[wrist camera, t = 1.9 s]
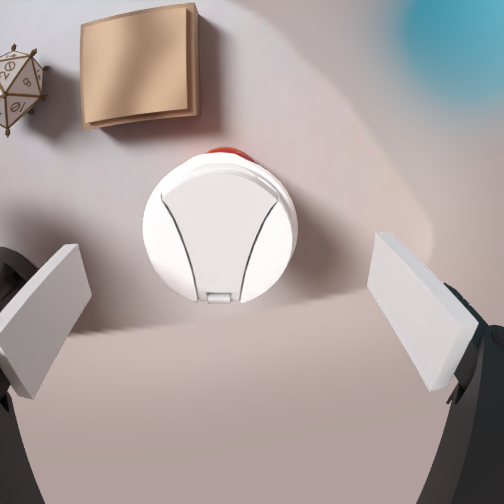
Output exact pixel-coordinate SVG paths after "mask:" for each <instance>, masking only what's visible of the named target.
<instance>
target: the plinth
mask: <svg viewBox="0 0 504 504" xmlns="http://www.w3.org/2000/svg"><path fill="white" fill-rule="evenodd" d="M80 92H81V112H82V126H83V130H89V129H94V128H99V127H105V126H111V125H117V124H124V123H130V122H138V121H145V120H153V119H162V118H172V117H183V116H195V115H200V86H199V14H198V11H197V8H196V5H195V3H186V4H177V5H169V6H162V7H156V8H150V9H144V10H139V11H134V12H129V13H124V14H120V15H115V16H111V17H107V18H103V19H99V20H96V21H92V22H89V23H85V24H82V25H81V35H80Z"/></svg>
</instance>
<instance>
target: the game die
mask: <svg viewBox="0 0 504 504" xmlns="http://www.w3.org/2000/svg"><path fill="white" fill-rule="evenodd" d="M11 49H12V51H11V52H9V53H7V54H5V55H3V56H1V57H0V126H2V127H4V128H6V131H5V132H6V134H5V135H6V136H7V138H8V136H9V135H10V130H9V128H10V127H11V126H12V125H13V124H14V123H16V122H17V121H18V120H19V119H20V118H21V117H22V116H24V115H25V114H26V113H27V112H28V113H29V115H30V114H33V110H32V109H31V108H32V107H33V106H34V105H35V104H36V103H37V102H38V101H39V100H40V99H41V98H42V100H45V101H46V100H48V99H49V98H48V96H47V95H42V85H43V71H48V69H49V66H46V67H44V68H43V69H42V68H41V66H40V65H39V64H38V63H37V61H36V60H35V59H34V58H33V56H34V55H35V54H36V53H37V48H36V49H34V50H32V52H31V54H30V55H29V54H25V53H21V52H18V51H15V49H16V45H15V43H14V45H13V46H12V48H11Z"/></svg>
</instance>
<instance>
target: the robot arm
mask: <svg viewBox="0 0 504 504" xmlns="http://www.w3.org/2000/svg"><path fill="white" fill-rule="evenodd" d="M367 288H368V290H369V291H370V293H371V294H372V296H373V297H374V299H375V300H376V302H377V304H378V305H379V307H380V308H381V310H382V312H383V313H384V315H385V316H386V318H387V320H388V321H389V323H390V324H391V326H392V328H393V329H394V331H395V333H396V334H397V336H398V338H399V339H400V341H401V342H402V344H403V346H404V348H405V349H406V351H407V353H408V355H409V356H410V358H411V360H412V362H413V363H414V365H415V367H416V369H417V370H418V372H419V374H420V376H421V378H422V379H423V381H424V383H425V385H426V387H427V388H428V390H429V392H432V391H435V390H438V389H442V388H445V387H447V386H448V384H449V382H450V381H451V379H452V377H453V375H455V376H456V378H457V380H458V381H459V382H458V384H457V386H456V387H455V389H454V390H453V392H452V394H451V396H450V397H449V399H448V401H447V402H446V404H449V403H450V401H451V400H452V402H451V406H450V410H449V414H448V418H447V421H446V425H445V428H444V431H443V435H442V438H441V441H440V444H439V447H438V450H437V453H436V456H435V459H434V461H433V464H432V467H431V470H430V472H429V475H428V477H427V480H426V482H425V485H424V487H423V489H422V492H421V494H420V497H419V499H418V501H417V503H416V504H504V327H502V326H498V325H490V326H489V325H488V324H487V323H486V322H485V321H484V320H483V318H482V317H481V316H480V315H479V314H478V313H477V312H476V311H475V310H474V308H472V306H469V303H468V302H467V301H466V300H465V299H463V297H462V296H461V295H460V294H459V293H458V291H457V290H456V289H454V288H452V287H451V286H449V285H447V284H446V283H442V282H441V281H440V280H439V279H438V278H437V277H436V276H435V275H434V274H433V273H432V272H431V271H430V270H429V269H428V268H427V267H426V266H425V265H424V264H423V263H422V262H421V261H420V260H419V259H418V258H417V257H416V256H415V255H414V254H413V253H412V252H411V251H410V250H409V249H408V248H407V247H406V246H405V245H404V244H403V243H402V242H401V241H400V240H398V239H397V238H396V237H395V236H394V235H393V234H392V233H391V232H377V233H375V240H374V247H373V253H372V259H371V265H370V271H369V277H368V282H367ZM91 297H92V293H91V290H90V287H89V283H88V280H87V276H86V273H85V269H84V265H83V261H82V258H81V254H80V250H79V245H78V244H65V245H64V246H62V247H61V248H60V249H59V250H58V251H57V252H56V253H55V254H54V255H53V256H52V257H51V258H50V259H49V260H48V261H47V262H46V263H45V264H44V265H43V266H42V267H41V268H40V269H39V271H37V270H36V269H35V268H34V267H33V265H32V264H31V263H30V262H28V261H27V260H26V259H25V258H24V257H22V256H21V255H19V254H18V253H16V252H14V251H12V250H10V249H8V248H4V247H0V504H45V502H44V500H43V498H42V495H41V493H40V490H39V488H38V485H37V483H36V481H35V478H34V475H33V472H32V469H31V467H30V464H29V461H28V458H27V455H26V452H25V448H24V445H23V442H22V439H21V435H20V431H19V428H18V424H17V420H16V416H15V412H14V407H13V403H12V398H11V396H10V394H9V393H8V391H7V390H8V388H9V386H10V385H11V386H12V387H13V389H14V390H15V392H16V393H17V395H18V396H21V397H24V398H28V399H32V400H33V399H34V397H35V395H36V394H37V392H38V390H39V388H40V385H41V384H42V382H43V380H44V378H45V376H46V374H47V372H48V370H49V368H50V367H51V364H52V363H53V361H54V359H55V357H56V356H57V354H58V352H59V350H60V348H61V347H62V345H63V343H64V341H65V340H66V338H67V336H68V335H69V333H70V331H71V329H72V328H73V326H74V324H75V323H76V321H77V319H78V318H79V316H80V315H81V313H82V311H83V310H84V308H85V306H86V305H87V303H88V302H89V300H90V299H91Z"/></svg>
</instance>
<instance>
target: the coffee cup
mask: <svg viewBox="0 0 504 504" xmlns="http://www.w3.org/2000/svg"><path fill="white" fill-rule="evenodd" d="M143 236H144V242H145V246H146V249H147V252H148V255H149V258H150V260H151V263H152V265H153V267H154V269H155V270H156V272H157V274H158V275H159V276H160V278H161V279H162V280H163V281H164V282H165V283H166V284H167V285H168V286H169V287H170V288H171V289H172V290H174V291H175V292H177V293H178V294H179V295H181V296H183V297H185V298H187V299H189V300H192V301H194V302H198V299H199V300H200V301H208V303H225V304H230V302H231V301H239V300H240V301H241V303H243V302H246V301H249V300H251V299H253V298H255V297H257V296H259V295H261V294H262V293H264V292H265V291H267V290H268V289H269V288H270V287H271V286H272V285H274V284H275V283H276V282H277V280H278V279H279V278H280V277H281V275H282V274H283V272H284V270H285V269H286V267H287V265H288V263H289V261H290V260H291V258H292V255H293V253H294V250H295V247H296V243H297V238H298V221H297V214H296V210H295V207H294V204H293V202H292V200H291V198H290V196H289V194H288V192H287V191H286V189H285V188H284V187H283V185H282V184H281V183H280V181H279V180H278V179H276V178H275V177H274V176H273V175H272V174H271V173H270V172H268V171H267V170H265V169H264V168H262V167H261V166H259V165H257V164H256V163H255V162H254V161H253V160H252V159H251V158H250V157H249V156H248V155H246V154H245V153H244V152H242V151H240V150H238V149H235V148H230V147H220V148H216V149H213V150H210V151H208V152H207V153H205V154H202V155H198V156H194V157H193V158H191V159H190V160H188V161H187V162H185V163H184V164H182V165H181V166H179V167H177V168H176V169H174V170H173V171H171V172H170V173H169V174H168V175H167V176H166V177H165V178H163V179H162V180H161V182H160V183H159V184H158V185H157V187H156V188H155V189H154V191H153V193H152V195H151V196H150V198H149V200H148V203H147V206H146V209H145V213H144V219H143Z"/></svg>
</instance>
